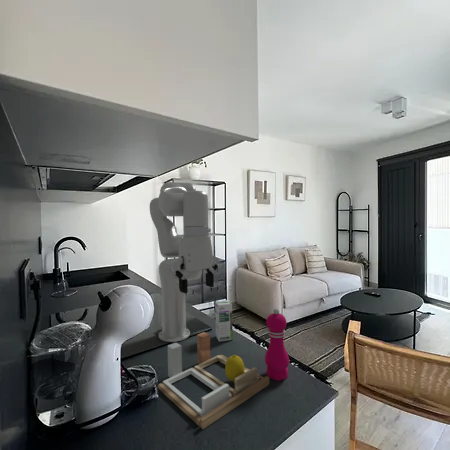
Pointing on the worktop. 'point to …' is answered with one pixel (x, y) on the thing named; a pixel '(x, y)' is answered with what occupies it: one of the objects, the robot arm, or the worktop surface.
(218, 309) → the syrup box
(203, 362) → the frame
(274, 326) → the pepper mill
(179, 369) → the frame
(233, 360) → the lemon
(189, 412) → the lane bed
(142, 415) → the worktop surface
